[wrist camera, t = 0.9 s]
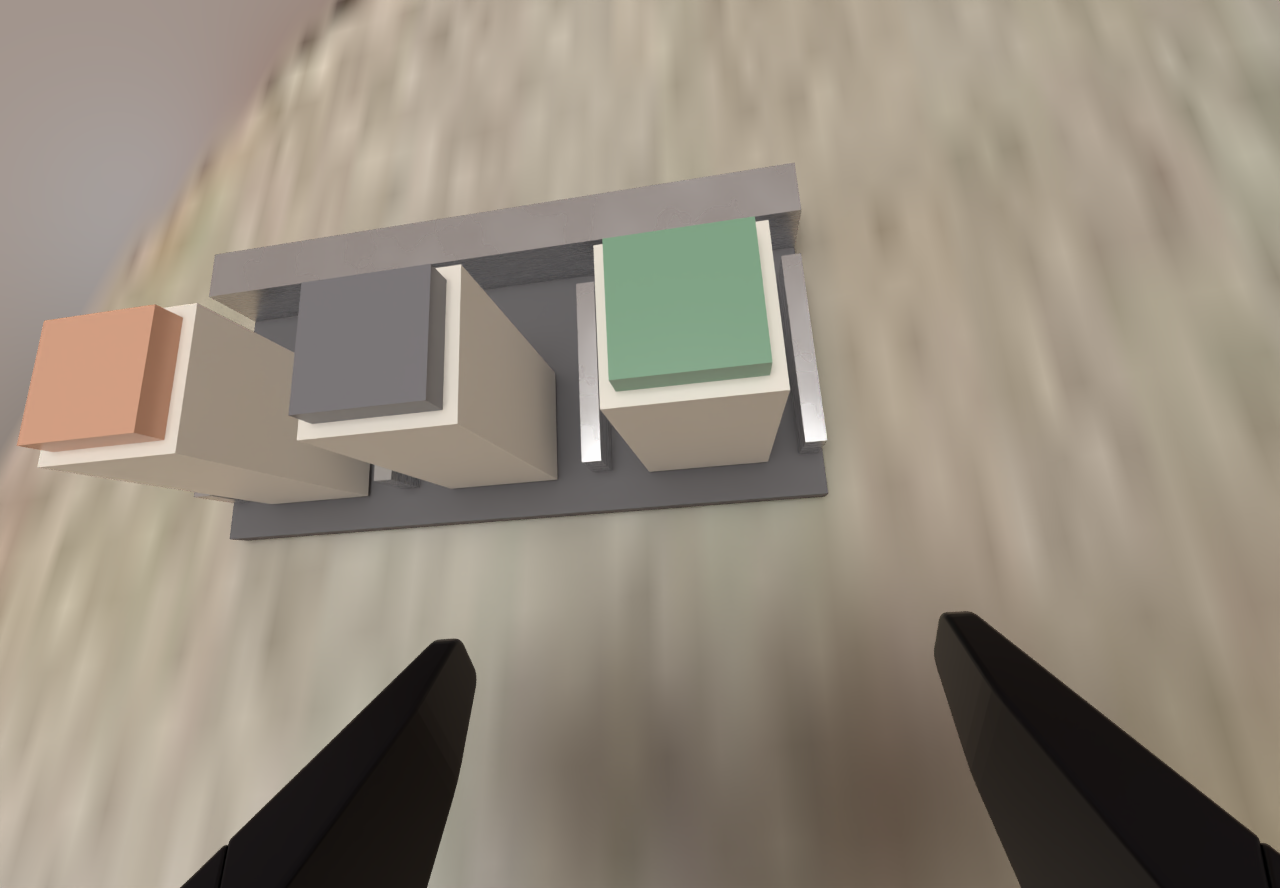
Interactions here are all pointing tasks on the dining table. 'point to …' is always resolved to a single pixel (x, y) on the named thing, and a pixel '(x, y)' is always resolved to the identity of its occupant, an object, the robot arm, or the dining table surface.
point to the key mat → (578, 490)
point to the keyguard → (549, 272)
